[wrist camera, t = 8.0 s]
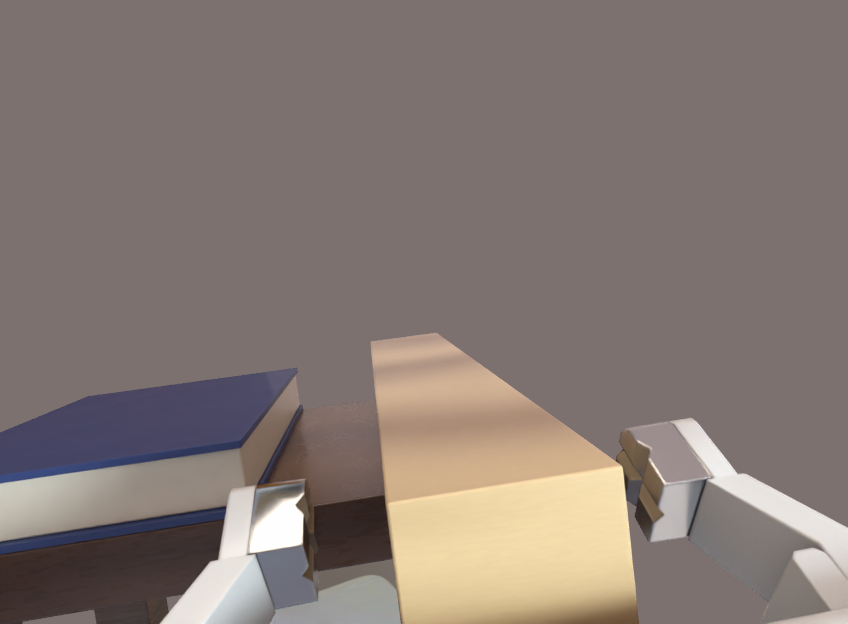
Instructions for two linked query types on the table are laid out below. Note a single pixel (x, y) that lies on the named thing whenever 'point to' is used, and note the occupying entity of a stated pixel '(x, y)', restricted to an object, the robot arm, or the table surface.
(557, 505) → the wooden block
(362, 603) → the table surface
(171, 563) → the stool
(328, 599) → the table surface
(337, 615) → the table surface
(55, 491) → the book
